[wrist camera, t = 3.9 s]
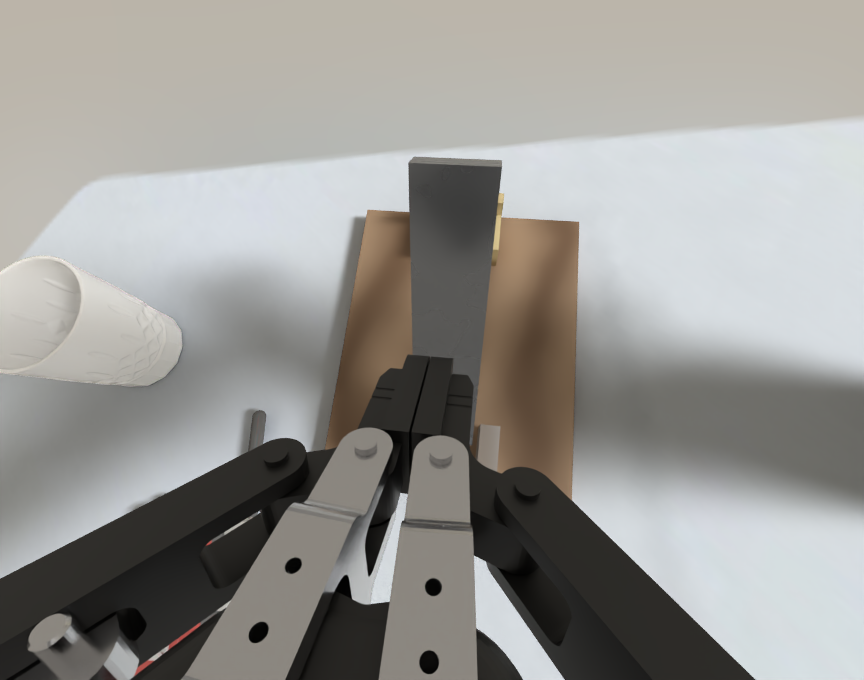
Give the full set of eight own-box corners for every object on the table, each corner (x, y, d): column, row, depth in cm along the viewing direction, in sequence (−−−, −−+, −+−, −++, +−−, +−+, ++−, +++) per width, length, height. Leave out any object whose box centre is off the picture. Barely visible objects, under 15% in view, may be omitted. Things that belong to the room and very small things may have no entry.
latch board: (574, 231, 34) (598, 183, 28) (566, 502, 29) (594, 518, 22) (371, 219, 36) (351, 171, 30) (327, 470, 30) (291, 477, 24)
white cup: (124, 300, 36) (-1, 247, 26) (202, 313, 35) (102, 263, 25) (90, 385, 34) (-58, 361, 24) (172, 401, 33) (51, 383, 23)
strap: (501, 158, 16) (501, 168, 15) (471, 446, 26) (469, 468, 25) (415, 155, 17) (406, 164, 15) (418, 440, 27) (414, 461, 25)
